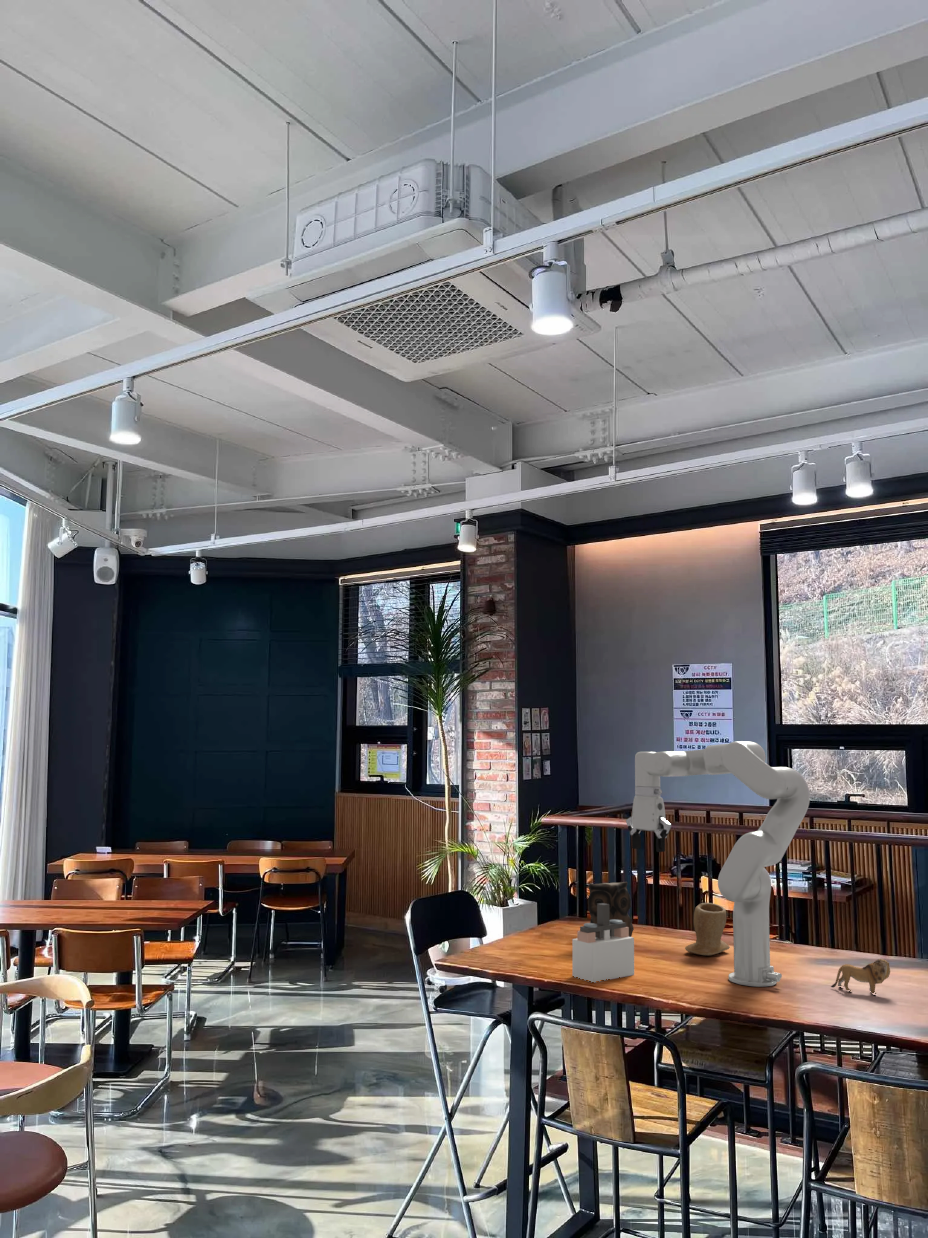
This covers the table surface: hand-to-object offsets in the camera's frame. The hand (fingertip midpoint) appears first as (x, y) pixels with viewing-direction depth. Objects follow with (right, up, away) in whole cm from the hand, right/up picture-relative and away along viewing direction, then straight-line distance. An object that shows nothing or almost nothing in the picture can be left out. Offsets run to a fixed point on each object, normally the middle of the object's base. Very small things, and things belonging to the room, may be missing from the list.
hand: (648, 850), depth 282 cm
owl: (-9, -35, +18) cm, 40 cm away
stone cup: (+21, -34, +7) cm, 41 cm away
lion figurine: (+50, -29, -36) cm, 68 cm away
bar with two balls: (-17, -19, -21) cm, 33 cm away
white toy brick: (-17, -29, -22) cm, 41 cm away
